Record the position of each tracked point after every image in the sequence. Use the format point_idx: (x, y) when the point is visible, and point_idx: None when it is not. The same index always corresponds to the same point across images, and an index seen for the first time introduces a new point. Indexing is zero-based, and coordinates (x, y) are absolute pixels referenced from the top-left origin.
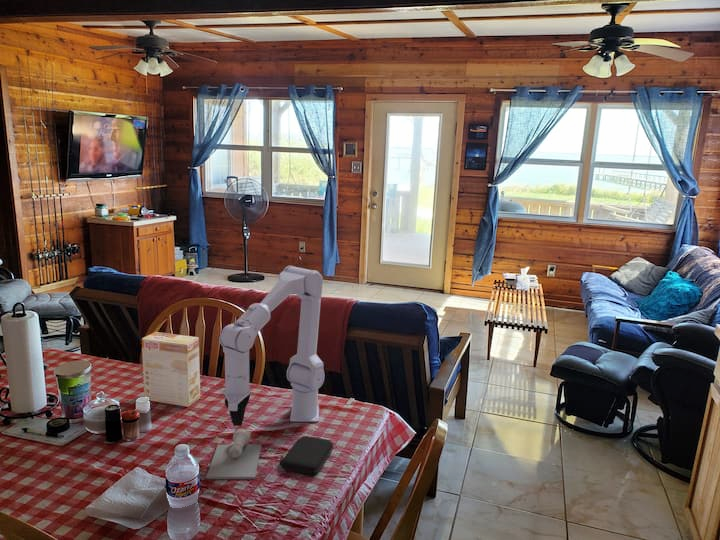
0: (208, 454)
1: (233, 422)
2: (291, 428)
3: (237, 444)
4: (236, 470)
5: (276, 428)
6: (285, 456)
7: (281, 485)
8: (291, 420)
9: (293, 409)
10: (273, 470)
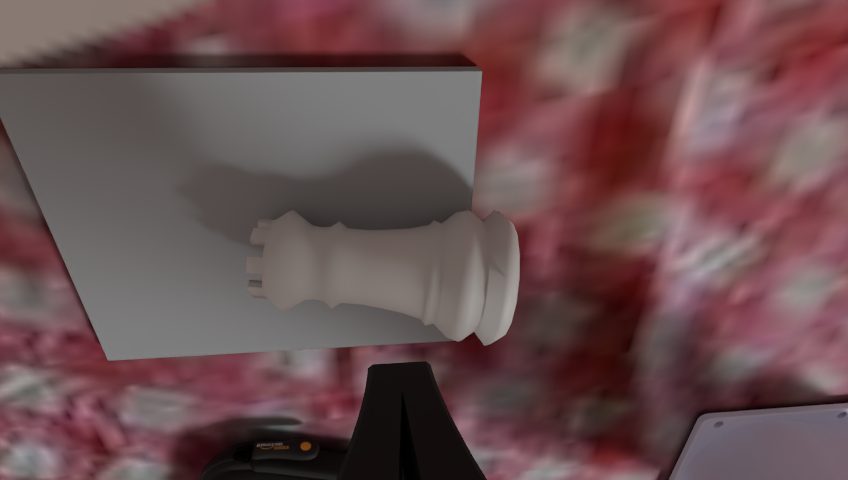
0: (360, 8)
1: (366, 399)
2: (631, 421)
3: (323, 290)
4: (143, 263)
5: (651, 366)
6: (297, 473)
7: (102, 451)
8: (701, 423)
9: (768, 463)
10: (224, 409)
